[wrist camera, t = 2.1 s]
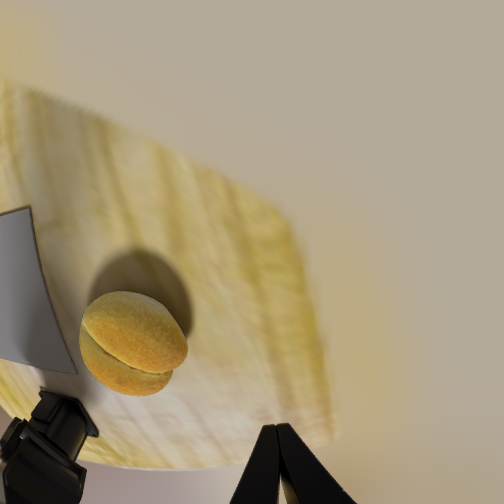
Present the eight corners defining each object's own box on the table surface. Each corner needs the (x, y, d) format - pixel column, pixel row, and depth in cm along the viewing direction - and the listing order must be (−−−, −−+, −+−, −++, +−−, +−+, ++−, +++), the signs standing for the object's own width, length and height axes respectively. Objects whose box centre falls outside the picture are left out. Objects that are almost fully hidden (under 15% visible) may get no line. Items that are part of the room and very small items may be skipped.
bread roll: (206, 322, 19) (198, 358, 15) (158, 389, 21) (148, 422, 18) (107, 262, 18) (79, 285, 14) (78, 341, 20) (58, 369, 16)
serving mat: (77, 373, 21) (76, 374, 21) (0, 356, 21) (-1, 357, 21) (30, 208, 17) (28, 208, 17) (-39, 229, 17) (-40, 229, 17)
